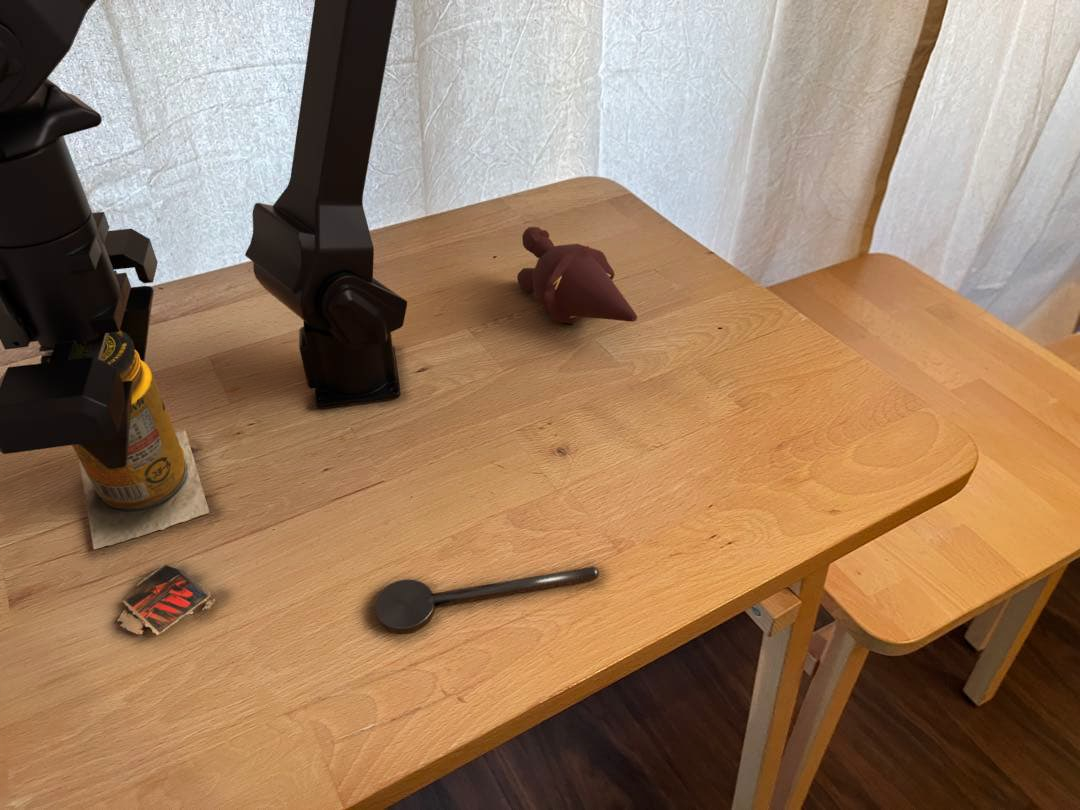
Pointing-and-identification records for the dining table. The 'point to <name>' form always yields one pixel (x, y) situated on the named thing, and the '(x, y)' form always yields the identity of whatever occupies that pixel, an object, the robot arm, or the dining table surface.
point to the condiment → (140, 463)
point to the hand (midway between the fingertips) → (125, 432)
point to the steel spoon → (455, 597)
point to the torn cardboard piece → (163, 600)
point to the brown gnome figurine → (572, 281)
